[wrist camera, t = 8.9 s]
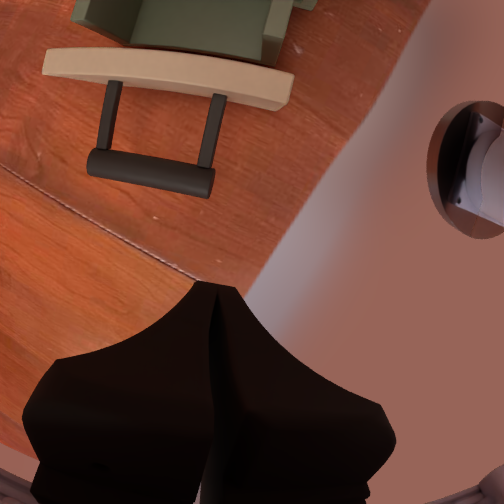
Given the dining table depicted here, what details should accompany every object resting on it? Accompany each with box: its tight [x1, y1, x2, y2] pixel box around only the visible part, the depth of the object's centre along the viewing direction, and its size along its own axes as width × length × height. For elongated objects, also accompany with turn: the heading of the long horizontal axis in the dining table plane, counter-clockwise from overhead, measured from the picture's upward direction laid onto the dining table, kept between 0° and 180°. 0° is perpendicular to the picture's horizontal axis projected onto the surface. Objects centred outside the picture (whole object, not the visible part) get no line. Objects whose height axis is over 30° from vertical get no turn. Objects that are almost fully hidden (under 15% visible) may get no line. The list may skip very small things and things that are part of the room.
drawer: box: [42, 0, 294, 199], centre depth 12 cm, size 17×10×7 cm, turn 167°
